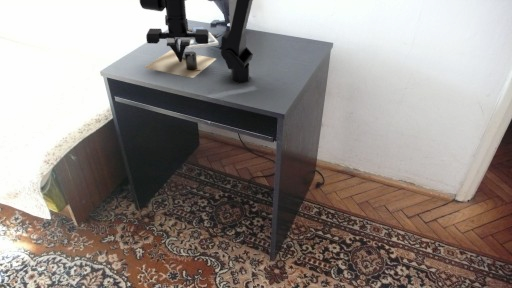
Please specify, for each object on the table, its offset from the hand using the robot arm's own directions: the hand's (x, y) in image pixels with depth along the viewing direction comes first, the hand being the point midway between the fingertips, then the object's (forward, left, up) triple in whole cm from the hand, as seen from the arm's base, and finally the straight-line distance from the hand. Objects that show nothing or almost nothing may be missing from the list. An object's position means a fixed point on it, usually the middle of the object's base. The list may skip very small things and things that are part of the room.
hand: (180, 61), depth 115 cm
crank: (+4, -4, -3) cm, 6 cm away
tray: (+21, -12, -4) cm, 25 cm away
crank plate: (+5, -1, -4) cm, 7 cm away
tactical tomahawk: (+36, -16, -5) cm, 40 cm away
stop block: (+21, -12, -4) cm, 25 cm away
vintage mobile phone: (+29, -30, -5) cm, 42 cm away
